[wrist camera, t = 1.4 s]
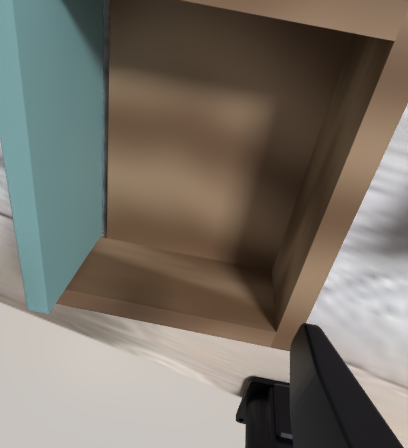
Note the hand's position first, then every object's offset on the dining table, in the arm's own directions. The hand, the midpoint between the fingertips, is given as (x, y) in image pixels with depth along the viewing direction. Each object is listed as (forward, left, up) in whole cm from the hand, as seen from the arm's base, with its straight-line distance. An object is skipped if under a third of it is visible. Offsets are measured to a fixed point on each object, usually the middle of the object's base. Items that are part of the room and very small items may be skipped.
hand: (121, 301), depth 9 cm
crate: (0, -1, -13) cm, 13 cm away
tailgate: (0, +5, -12) cm, 13 cm away
